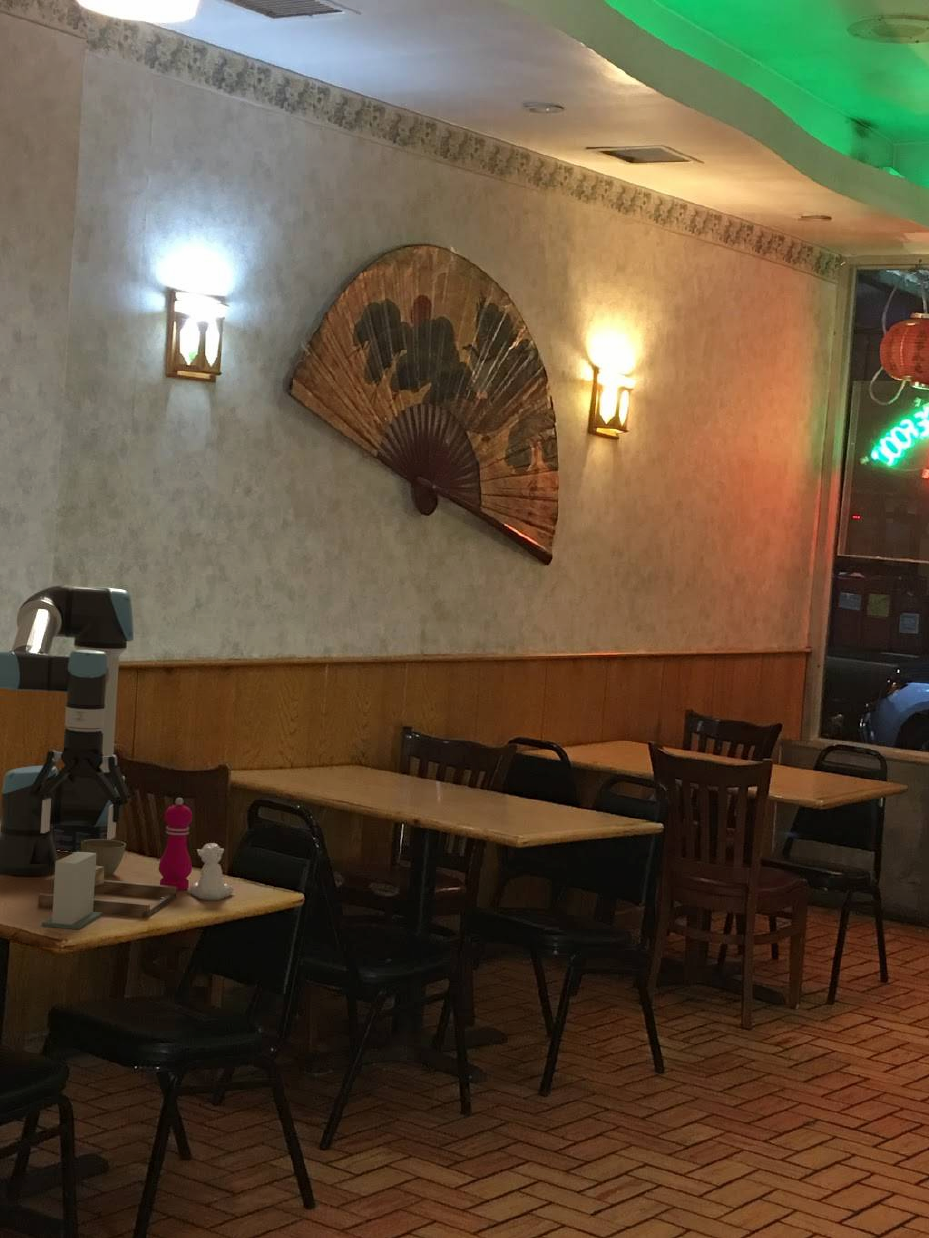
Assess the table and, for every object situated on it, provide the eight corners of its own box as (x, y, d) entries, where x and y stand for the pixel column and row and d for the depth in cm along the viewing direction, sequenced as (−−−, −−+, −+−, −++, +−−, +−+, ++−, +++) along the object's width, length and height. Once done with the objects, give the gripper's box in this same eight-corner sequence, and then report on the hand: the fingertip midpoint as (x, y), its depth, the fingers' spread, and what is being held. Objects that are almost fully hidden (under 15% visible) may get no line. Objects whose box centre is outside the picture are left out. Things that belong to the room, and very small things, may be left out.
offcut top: (93, 886, 344) (94, 869, 343) (59, 881, 346) (60, 865, 346) (103, 883, 347) (104, 866, 347) (69, 878, 350) (70, 862, 350)
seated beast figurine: (233, 894, 363) (236, 840, 362) (232, 902, 354) (235, 847, 354) (189, 892, 362) (192, 838, 361) (187, 900, 353) (191, 845, 353)
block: (51, 922, 322) (55, 861, 322) (73, 910, 334) (77, 851, 334) (71, 924, 322) (75, 863, 321) (92, 912, 334) (96, 853, 333)
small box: (112, 852, 401) (115, 803, 400) (98, 857, 394) (101, 807, 394) (65, 846, 405) (68, 797, 404) (50, 850, 398) (52, 801, 398)
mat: (41, 925, 322) (41, 922, 322) (66, 911, 335) (66, 908, 335) (78, 929, 321) (79, 926, 321) (102, 915, 334) (102, 912, 334)
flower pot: (85, 879, 368) (87, 847, 367) (74, 870, 376) (76, 839, 376) (129, 878, 372) (131, 846, 372) (117, 869, 381) (119, 838, 381)
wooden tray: (38, 906, 338) (38, 894, 338) (72, 888, 358) (73, 876, 357) (147, 917, 335) (147, 905, 335) (176, 898, 355) (176, 886, 355)
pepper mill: (183, 892, 361) (189, 801, 360) (152, 889, 362) (157, 798, 362) (195, 886, 368) (200, 797, 367) (164, 883, 369) (170, 794, 369)
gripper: (16, 725, 324) (10, 832, 326) (139, 736, 321) (132, 844, 323) (30, 721, 332) (24, 825, 333) (151, 731, 329) (144, 837, 330)
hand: (77, 835), depth 328 cm, fingers open, 13 cm apart
